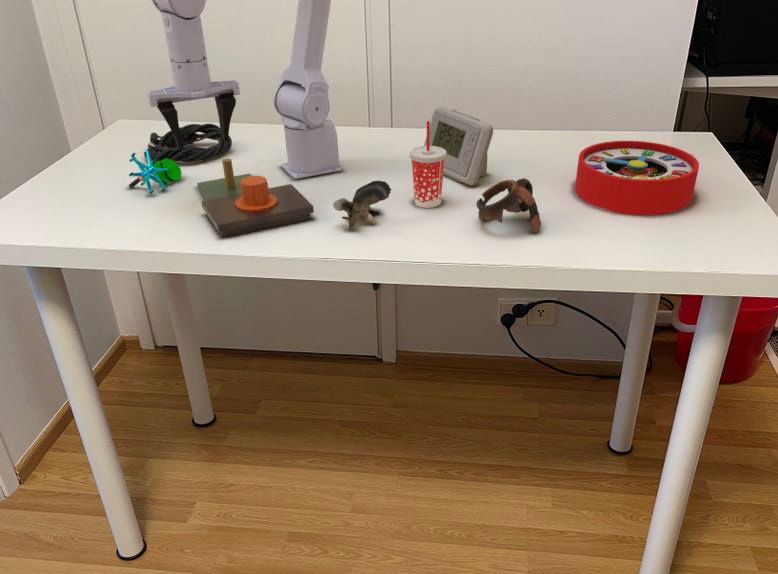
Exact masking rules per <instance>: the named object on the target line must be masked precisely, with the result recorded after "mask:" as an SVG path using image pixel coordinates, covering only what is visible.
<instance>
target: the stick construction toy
mask: <svg viewBox="0 0 778 574" xmlns="http://www.w3.org/2000/svg"><path fill="white" fill-rule="evenodd" d="M143 154H146V156H147V157H146V162H147V164H145V163H143V162H142V161H140V160H138V158H137V157H136V152H132V153H131V154H130V157H131V158H130V159H129V160H128V162H129V163H131V162H134V163H135V164H136V165H137V167H138V169H139V170H140V171H141V172H140V171H139V172H133V171H132V172H130V173H129V174H128V176H129V177H137V178H135V179H134V180H132V182H130V183H129V184H128V187H129V188H130V189H132V188H134V187H136V186H137V185H138V184H139V183H140V186H144V185H145V184H146V186H147V191H148V194H149V195H152V194H153V193H154V191H155V190H153V189H152V184H151V180H152V181H153V182H156V183H157V184H159V186H160V187H162V189H161V191H162V192H165V191H166V190H167V187H166V186H167V185H168V184H171V183H172V182H178V181H180V179H181V178H182V169H181V167H180V165H178V164H177V163H176V161H172V160H170V159H163V160H162V161H157V160H156V159H155V160H154V161H152V160H151V159H150V155H149V151H148V150H147V149H146V150H145V151H143Z"/></svg>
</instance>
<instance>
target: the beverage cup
mask: <svg viewBox="0 0 778 574" xmlns="http://www.w3.org/2000/svg"><path fill="white" fill-rule="evenodd" d="M430 123H431V120H427V121H426V137H427V146H424V145H421V146H416V147H414V148H411V149H410V151H409V158H410V160H411V172H412V173H411V174H412V187H413V199H414V204H415V206H417V207H418V208H419V207H420V208H425V209H429V208H430V209H432V208H436V207H439V206H440V205H441V204H442V199H443V198H442V195H443V184H444V174H443V172H444V159H445V158H446V150H445V149H443V148H441V147H437V146H430Z"/></svg>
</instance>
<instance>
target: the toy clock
mask: <svg viewBox="0 0 778 574" xmlns="http://www.w3.org/2000/svg"><path fill="white" fill-rule="evenodd" d="M577 160H578V161H577V168H576V176H575V183H574V191H575V194H576V195H577V197H578V198H580V199H581V201H583V202H585V203H587V204H589V205H590V206H592V207H595V208H598V209H601V210H604V211H608V212H612V213H617V214H623V215H624V214H625V215H631V216H632V215H633V216H634V215H635V216H659V215H664V214H665V215H666V214H671V213H675V212H678V211H681V210H683V209H685V208H687V207H688V206H689V205H690V204H691V203H692V200H693V196H694V193H695V188H696V182H697V178H698V175H699V170H700V162H699V160H698V159H697V158H696V157H695V156H694V155H693V154H691V153H689V152H687V151H685V150H683V149H680V148H678V147H675V146H671V145H667V144H664V143H658V142H653V141H646V140H645V141H644V140H612V141H604V142H603V141H602V142H598V143H595V144H591V145H589V146H586V147H585V148H583V149H582V150H581V151H580V152H579V154H578V159H577Z"/></svg>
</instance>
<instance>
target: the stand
mask: <svg viewBox="0 0 778 574" xmlns="http://www.w3.org/2000/svg"><path fill="white" fill-rule="evenodd" d="M268 190H269V194H272V195H274V196H275V197H276V198H277V199H278V203H277V204H276V205H275V206H274V207H273V208H270V209H268V210H263V211H258V212H255V211H254V212H249V211H242V210H239V209H238V208H237V207H236V206H235V201H236V200H237V199H239V198H240V197H241V196H242V194H236V195H231V196H225V197H220V198H215V199H209V200H206V199H204V200H201V201H200V203H201V204H200V205H201V207H202V210H203V211H204V212H205V214H206V216H207V217H208V218H209V220H210V222H211V223H212V224H213V227H215V229H216V230H217V232H218V233H219V235H220V236H221V238H223V239H224V238H227V237H232V236H237V235H241V234H247V233H252V232H256V231H262V230H266V229H270V228H276V227H280V226H285V225H291V224H295V223H300V222H304V221H309V220H311V214H314V213H315V210H314V205H313V204H312V203H311V202H310V201H309V200H308V199H307V198H306V197H305V196H304V194H302V193H301V192H300V191H299V190H298V189H297V188H296V187H295V186H294V185H293V184H292V183H289V184H285V185H278V186H273V187H268Z"/></svg>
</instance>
